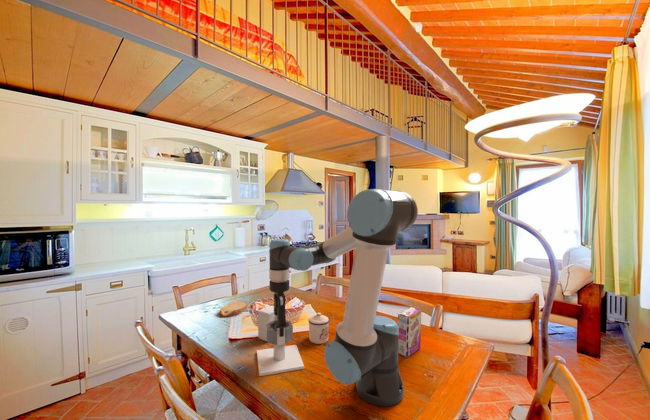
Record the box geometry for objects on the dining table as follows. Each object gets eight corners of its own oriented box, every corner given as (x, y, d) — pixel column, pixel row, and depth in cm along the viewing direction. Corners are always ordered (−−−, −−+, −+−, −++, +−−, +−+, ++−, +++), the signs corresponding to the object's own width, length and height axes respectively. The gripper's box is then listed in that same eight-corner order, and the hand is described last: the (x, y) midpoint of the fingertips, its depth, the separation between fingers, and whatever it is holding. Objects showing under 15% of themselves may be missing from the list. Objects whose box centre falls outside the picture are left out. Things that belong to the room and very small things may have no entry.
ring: (294, 342, 102) (294, 329, 102) (267, 346, 100) (267, 332, 100) (289, 331, 112) (289, 318, 111) (265, 334, 109) (265, 321, 109)
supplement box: (281, 336, 125) (281, 308, 125) (268, 342, 119) (268, 313, 119) (269, 331, 129) (269, 305, 129) (257, 338, 123) (257, 310, 123)
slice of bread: (242, 302, 169) (242, 296, 169) (254, 311, 155) (254, 305, 155) (212, 309, 158) (212, 303, 158) (222, 319, 144) (222, 312, 144)
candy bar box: (408, 358, 107) (408, 317, 107) (396, 354, 111) (397, 313, 110) (421, 348, 115) (421, 309, 115) (410, 344, 118) (410, 306, 118)
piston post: (304, 368, 100) (304, 347, 100) (259, 376, 96) (259, 353, 96) (296, 347, 116) (296, 328, 115) (257, 352, 111) (257, 333, 111)
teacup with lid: (322, 346, 116) (322, 319, 116) (304, 340, 121) (304, 314, 121) (335, 334, 127) (335, 309, 126) (318, 330, 131) (318, 306, 131)
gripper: (294, 287, 96) (294, 351, 96) (285, 272, 117) (284, 324, 117) (272, 289, 93) (272, 354, 94) (267, 273, 115) (267, 326, 115)
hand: (279, 337), depth 106 cm, fingers closed on ring, 10 cm apart
